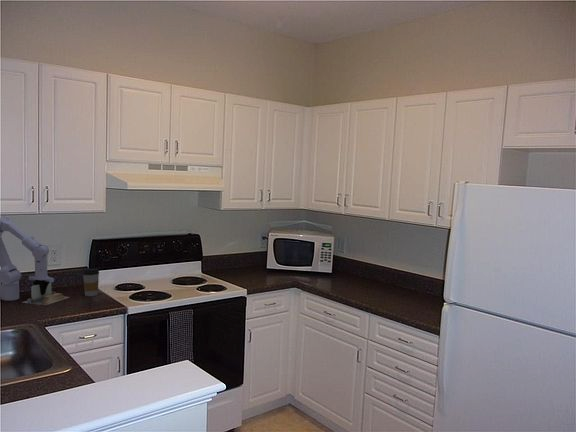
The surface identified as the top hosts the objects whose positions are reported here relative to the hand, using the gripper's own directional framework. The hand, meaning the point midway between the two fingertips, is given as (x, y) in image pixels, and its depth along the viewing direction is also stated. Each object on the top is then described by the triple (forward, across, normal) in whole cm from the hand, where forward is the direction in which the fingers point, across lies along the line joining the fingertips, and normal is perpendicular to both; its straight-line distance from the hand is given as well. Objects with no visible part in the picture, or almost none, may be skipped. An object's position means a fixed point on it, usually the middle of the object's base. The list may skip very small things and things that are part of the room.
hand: (41, 294), depth 247 cm
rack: (+3, -3, 0) cm, 5 cm away
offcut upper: (+1, -8, 0) cm, 8 cm away
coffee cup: (+4, -17, -17) cm, 24 cm away
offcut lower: (+2, -8, 0) cm, 8 cm away
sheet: (+2, 0, 0) cm, 2 cm away
